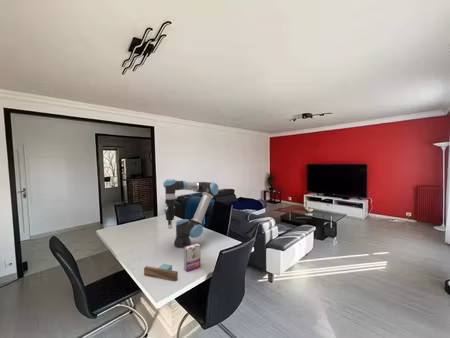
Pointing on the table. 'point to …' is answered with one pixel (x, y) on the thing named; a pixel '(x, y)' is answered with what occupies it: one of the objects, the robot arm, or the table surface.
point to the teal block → (166, 267)
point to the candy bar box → (191, 257)
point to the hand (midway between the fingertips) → (170, 228)
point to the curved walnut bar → (161, 273)
